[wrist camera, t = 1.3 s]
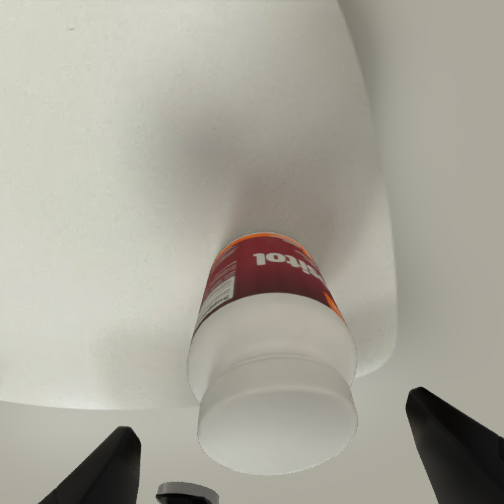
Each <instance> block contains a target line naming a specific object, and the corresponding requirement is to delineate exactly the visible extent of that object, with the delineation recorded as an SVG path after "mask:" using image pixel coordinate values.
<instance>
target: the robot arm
mask: <svg viewBox="0 0 504 504" xmlns="http://www.w3.org/2000/svg"><path fill="white" fill-rule="evenodd" d="M406 413H407V417H408V420H409V423H410V427H411V430H412V433H413V437H414V440H415V444H416V447H417V450H418V453H419V455H420V458H421V460H422V462H423V465H424V467H425V470H426V472H427V475H428V477H429V480H430V482H431V485H432V487H433V489H434V492H435V495H436V498H437V500H438V503H439V504H504V438H502V437H501V436H499V437H498V435H497V434H496V433H494V432H493V431H491V430H489V429H488V428H486V427H484V426H483V425H481V424H480V423H478V422H477V421H475V420H474V419H472V418H470V417H468V416H467V415H466V414H464V413H462V412H461V411H459V410H458V409H456V408H455V407H453V406H451V405H450V404H448V403H447V402H445V401H443V400H442V399H440V398H439V397H437V396H436V395H434V394H433V393H431V392H429V391H428V390H427V389H425V388H423V387H418V388H415V389H412V390H410V392H409V395H408V399H407V403H406ZM140 457H141V442H140V440H139V438H138V437H137V436H136V434H135V433H134V431H133V430H132V428H131V427H128V426H127V427H126V426H119V427H117V428H116V429H115V430H114V431H113V432H112V433H111V434H110V435H109V436H108V438H106V439H105V440H104V441H103V442H102V443H101V444H100V445H99V446H98V447H97V448H96V449H95V450H94V451H93V452H92V453H91V454H90V455H89V456H88V457H87V458H86V459H85V460H84V461H83V462H82V463H81V464H80V465H79V466H78V467H77V468H76V469H75V470H74V471H73V472H72V473H71V474H70V475H69V476H68V477H67V478H65V479H64V480H63V481H62V482H61V483H60V484H59V485H58V486H57V488H56V489H54V490H53V491H52V492H51V493H50V494H49V495H47V496H46V497H45V498H44V499H43V500H42V501H41V502H39V503H38V504H136V499H137V494H138V487H139V477H140ZM156 498H157V499H158V500H159V501H160V502H161V503H162V504H210V503H209V502H208V500H207V499H206V498H205V497H202V496H177V495H163V494H156Z"/></svg>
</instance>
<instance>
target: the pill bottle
mask: <svg viewBox="0 0 504 504" xmlns="http://www.w3.org/2000/svg"><path fill="white" fill-rule="evenodd" d="M356 367H357V354H356V348H355V344H354V341H353V338H352V336H351V334H350V331H349V329H348V327H347V325H346V323H345V321H344V319H343V317H342V315H341V313H340V311H339V309H338V307H337V305H336V303H335V301H334V299H333V297H332V295H331V293H330V291H329V290H328V288H327V286H326V284H325V282H324V280H323V278H322V276H321V274H320V272H319V270H318V268H317V266H316V264H315V262H314V260H313V259H312V257H311V256H310V254H309V253H308V252H307V250H306V249H305V248H304V247H303V246H302V245H301V244H299V243H298V242H297V241H295V240H294V239H292V238H290V237H287V236H285V235H282V234H278V233H273V232H256V233H251V234H247V235H244V236H241V237H239V238H237V239H236V240H234V241H232V242H231V243H230V244H228V245H227V246H226V247H225V248H224V249H223V250H222V251H221V252H220V253H219V255H218V256H217V258H216V259H215V261H214V263H213V265H212V268H211V270H210V273H209V277H208V281H207V284H206V288H205V292H204V295H203V299H202V303H201V307H200V311H199V314H198V318H197V322H196V326H195V329H194V333H193V337H192V341H191V344H190V350H189V354H188V360H187V375H188V380H189V384H190V387H191V389H192V391H193V394H194V396H195V397H196V399H197V400H198V401H199V403H200V410H199V420H198V432H197V435H198V440H199V444H200V446H201V448H202V449H203V451H204V452H205V453H206V454H207V455H208V456H209V457H210V458H211V459H212V460H214V461H215V462H217V463H218V464H220V465H221V466H224V467H226V468H228V469H231V470H234V471H237V472H241V473H246V474H253V475H282V474H289V473H294V472H299V471H302V470H306V469H309V468H312V467H314V466H317V465H319V464H321V463H324V462H326V461H327V460H329V459H331V458H332V457H334V456H336V455H337V454H338V453H340V452H341V451H342V450H343V449H344V448H345V447H346V446H347V445H348V444H349V443H350V441H351V440H352V438H353V437H354V435H355V433H356V430H357V426H358V417H357V412H356V409H355V405H354V402H353V399H352V394H351V391H350V387H351V385H352V382H353V380H354V377H355V373H356Z"/></svg>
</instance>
